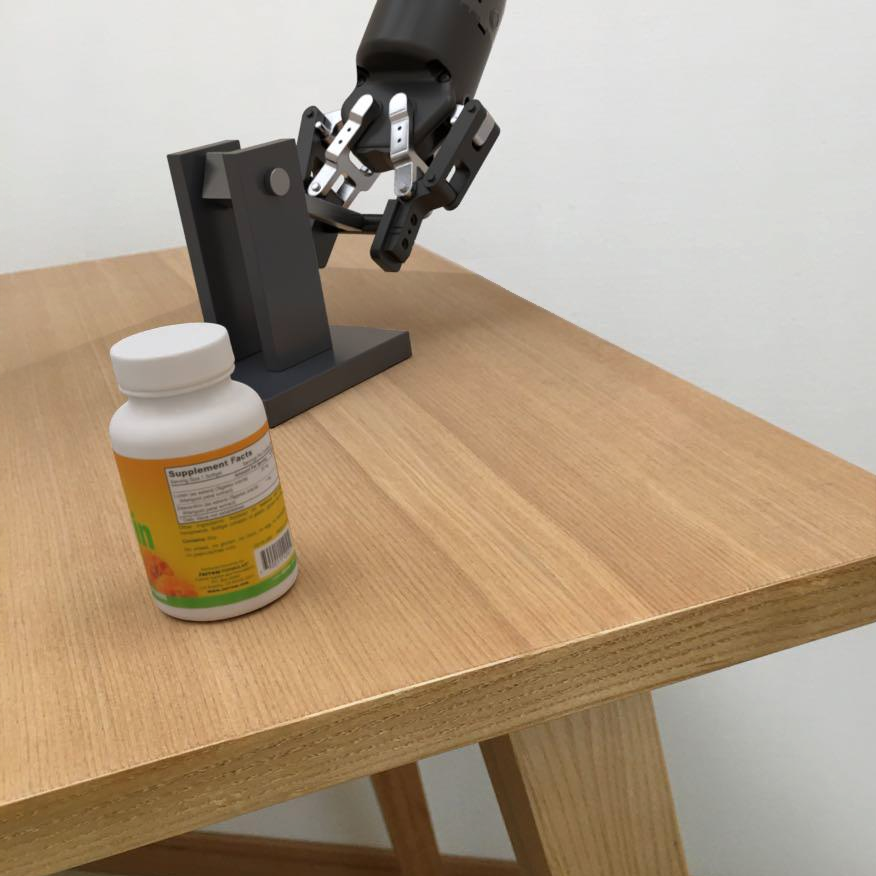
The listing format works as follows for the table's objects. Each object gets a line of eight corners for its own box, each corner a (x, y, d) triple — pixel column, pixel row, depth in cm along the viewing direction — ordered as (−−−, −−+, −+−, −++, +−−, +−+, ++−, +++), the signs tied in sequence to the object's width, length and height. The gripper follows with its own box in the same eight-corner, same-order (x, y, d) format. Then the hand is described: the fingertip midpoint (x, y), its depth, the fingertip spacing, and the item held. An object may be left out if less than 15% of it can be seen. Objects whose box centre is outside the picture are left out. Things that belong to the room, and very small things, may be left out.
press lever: (332, 245, 75) (336, 205, 74) (397, 247, 72) (401, 206, 72) (181, 198, 64) (186, 152, 64) (251, 199, 62) (256, 150, 62)
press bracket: (284, 343, 76) (241, 128, 70) (413, 355, 71) (378, 124, 65) (136, 409, 67) (74, 169, 61) (271, 428, 62) (217, 168, 56)
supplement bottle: (149, 578, 48) (83, 335, 43) (286, 544, 49) (235, 307, 45) (162, 639, 43) (89, 375, 39) (313, 600, 44) (259, 342, 40)
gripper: (312, -12, 76) (216, 226, 73) (504, -32, 69) (408, 231, 65) (378, 67, 83) (293, 290, 79) (560, 56, 75) (476, 301, 72)
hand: (346, 262), depth 72 cm, fingers closed on press lever, 5 cm apart
